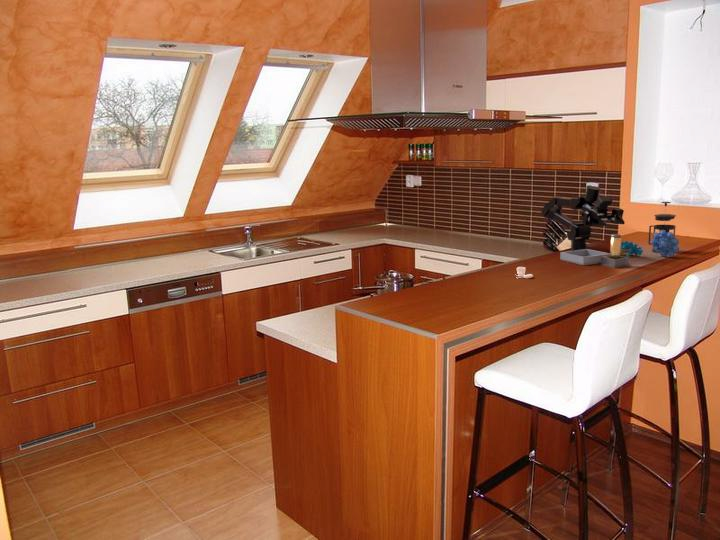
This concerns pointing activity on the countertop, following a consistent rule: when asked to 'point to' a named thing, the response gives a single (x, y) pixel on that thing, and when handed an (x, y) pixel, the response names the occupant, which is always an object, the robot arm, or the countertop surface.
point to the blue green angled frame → (630, 248)
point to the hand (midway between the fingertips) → (615, 224)
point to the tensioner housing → (615, 261)
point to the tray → (583, 256)
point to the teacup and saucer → (523, 272)
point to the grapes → (665, 243)
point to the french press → (662, 227)
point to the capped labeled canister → (615, 246)
